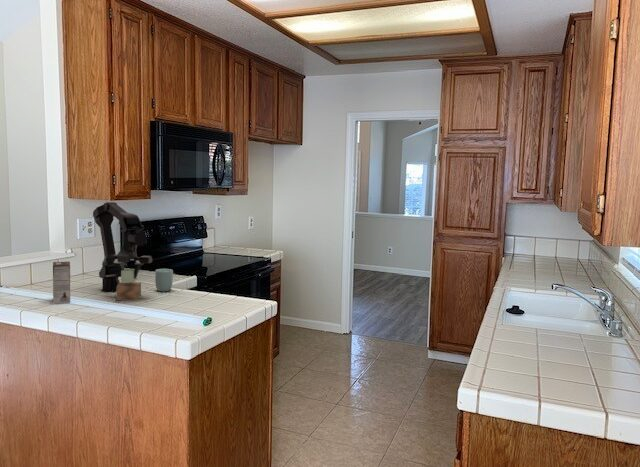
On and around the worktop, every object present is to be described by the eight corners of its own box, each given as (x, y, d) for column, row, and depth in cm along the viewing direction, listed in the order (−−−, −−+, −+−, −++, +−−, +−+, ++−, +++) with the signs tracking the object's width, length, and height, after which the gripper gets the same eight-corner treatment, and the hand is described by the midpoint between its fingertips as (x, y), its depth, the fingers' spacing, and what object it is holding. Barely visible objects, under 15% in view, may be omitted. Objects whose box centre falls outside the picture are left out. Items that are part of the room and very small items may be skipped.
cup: (167, 293, 227) (167, 272, 226) (152, 291, 228) (152, 270, 227) (175, 290, 235) (175, 269, 234) (160, 288, 236) (161, 268, 235)
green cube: (121, 281, 213) (121, 270, 213) (125, 279, 218) (125, 268, 218) (132, 282, 213) (132, 271, 213) (136, 280, 218) (136, 269, 218)
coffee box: (52, 299, 207) (52, 261, 206) (69, 297, 210) (69, 261, 209) (53, 304, 199) (52, 265, 198) (70, 302, 202) (70, 264, 201)
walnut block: (116, 300, 211) (116, 286, 210) (119, 295, 220) (119, 282, 219) (138, 299, 213) (138, 286, 212) (140, 295, 222) (141, 282, 221)
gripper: (100, 244, 206) (99, 280, 207) (144, 246, 206) (144, 282, 208) (110, 241, 217) (110, 276, 218) (152, 243, 217) (152, 277, 219)
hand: (129, 278), depth 215 cm, fingers closed on green cube, 5 cm apart
